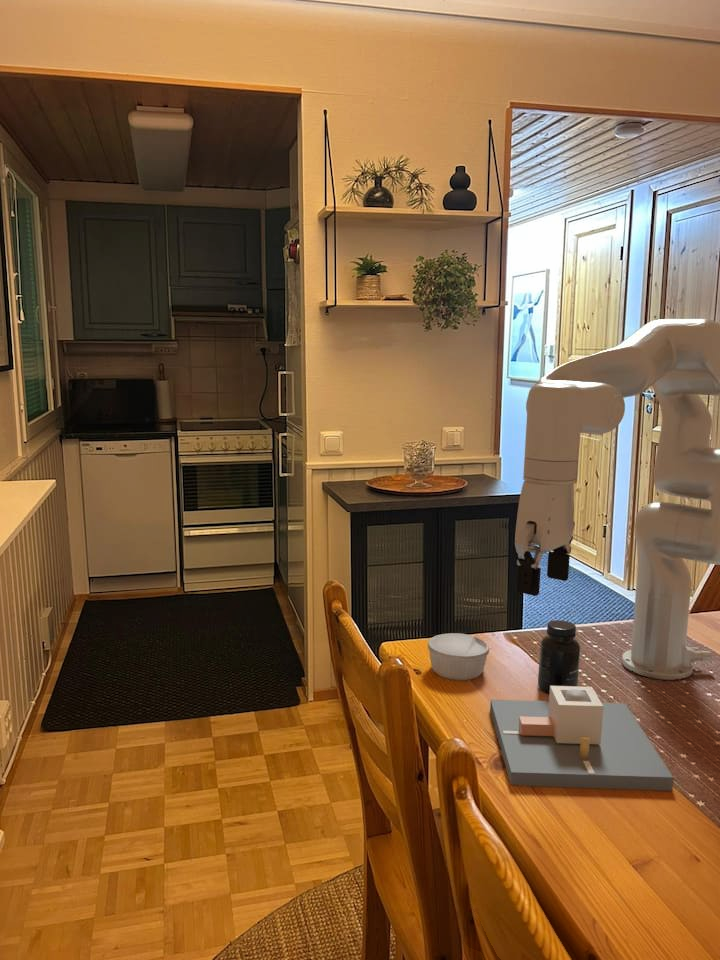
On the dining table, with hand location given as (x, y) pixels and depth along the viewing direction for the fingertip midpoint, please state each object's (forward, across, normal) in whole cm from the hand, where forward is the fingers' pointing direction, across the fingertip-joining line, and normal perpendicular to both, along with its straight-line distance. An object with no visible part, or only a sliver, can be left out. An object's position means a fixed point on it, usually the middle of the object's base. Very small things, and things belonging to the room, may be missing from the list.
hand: (543, 585), depth 113 cm
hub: (+23, -2, +3) cm, 23 cm away
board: (+25, -3, +5) cm, 26 cm away
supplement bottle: (+25, -20, -5) cm, 33 cm away
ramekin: (+25, -16, -23) cm, 38 cm away
